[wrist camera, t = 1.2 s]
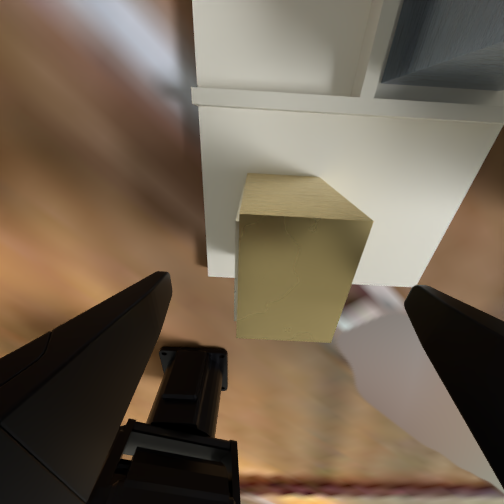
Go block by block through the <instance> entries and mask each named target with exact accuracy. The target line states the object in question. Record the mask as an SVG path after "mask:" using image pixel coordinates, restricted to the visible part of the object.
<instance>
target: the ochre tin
mask: <svg viewBox="0 0 504 504" xmlns="http://www.w3.org/2000/svg"><path fill="white" fill-rule="evenodd" d="M373 222H374V221H373V220H372V219H371V218H369V217H368V216H367V215H366V214H364V213H363V212H362V211H361V210H359V209H358V208H357V207H356V206H355V205H353V204H352V203H351V202H350V201H348V200H347V199H346V198H345V197H343V196H342V195H341V194H340V193H338V192H337V191H336V190H335V189H334V188H332V187H331V186H330V185H329V184H327V183H326V182H325V181H324V180H322V179H321V178H320V177H311V176H293V175H276V174H259V173H247V177H246V182H245V184H244V185H243V190H242V194H241V199H240V203H239V208H238V212H237V217H236V225H235V288H234V321H237V333H236V338H246V339H266V340H286V341H306V342H326V343H331V341H332V338H333V335H334V332H335V330H336V327H337V324H338V321H339V318H340V315H341V313H342V310H343V307H344V304H345V301H346V299H347V296H348V293H349V290H350V287H351V284H352V282H353V279H354V276H355V273H356V270H357V268H358V265H359V262H360V259H361V256H362V253H363V251H364V248H365V245H366V242H367V239H368V237H369V234H370V231H371V228H372V225H373Z"/></svg>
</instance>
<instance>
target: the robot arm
mask: <svg viewBox="0 0 504 504" xmlns="http://www.w3.org/2000/svg"><path fill="white" fill-rule="evenodd" d="M171 297H172V285H171V279H170V274H169V273H168V272H162V271H157V272H155V273H153V274H151V275H149V276H148V277H146V278H144V279H142V280H141V281H139V282H137V283H135V284H133V285H132V286H130V287H128V288H126V289H124V290H123V291H121V292H119V293H117V294H116V295H114V296H112V297H110V298H108V299H107V300H105V301H103V302H101V303H100V304H98V305H96V306H94V307H92V308H91V309H89V310H87V311H85V312H83V313H82V314H80V315H78V316H76V317H75V318H73V319H71V320H69V321H67V322H66V323H64V324H62V325H60V326H58V327H57V328H55V329H53V331H52V332H51V331H50V332H48V333H46V334H44V335H42V336H41V337H39V338H37V339H35V340H33V341H32V342H30V343H28V344H26V345H24V346H22V347H21V348H19V349H17V350H15V351H13V352H11V353H10V354H8V355H6V356H4V357H2V358H0V504H240V487H239V468H238V450H237V441H234V440H230V441H227V440H222V439H217V438H215V432H216V424H217V417H218V409H219V402H220V394H221V391H225V390H227V387H228V353H227V351H226V350H221V349H200V348H180V347H162V348H161V349H160V351H159V355H160V359H161V363H162V367H163V371H164V376H163V379H162V382H161V384H160V387H159V390H158V392H157V395H156V398H155V401H154V403H153V406H152V409H151V411H150V414H149V417H148V419H147V422H146V423H141V422H136V420H134V419H128V422H127V424H126V425H124V426H120V425H121V423H122V420H123V418H124V416H125V413H126V411H127V409H128V407H129V404H130V402H131V400H132V397H133V395H134V393H135V390H136V388H137V386H138V384H139V381H140V379H141V377H142V374H143V372H144V370H145V367H146V365H147V363H148V361H149V358H150V356H151V354H152V351H153V349H154V347H155V345H156V342H157V340H158V337H159V335H160V332H161V329H162V326H163V323H164V320H165V316H166V313H167V310H168V307H169V303H170V300H171ZM404 307H405V310H406V312H407V314H408V316H409V318H410V321H411V323H412V325H413V327H414V329H415V332H416V334H417V336H418V338H419V340H420V342H421V344H422V347H423V348H424V350H425V352H426V354H427V356H428V357H429V359H430V361H431V363H432V364H433V366H434V368H435V370H436V371H437V373H438V375H439V377H440V378H441V380H442V382H443V384H444V385H445V387H446V389H447V390H448V392H449V394H450V396H451V398H452V399H453V401H454V403H455V405H456V406H457V408H458V410H459V412H460V413H461V415H462V417H463V419H464V420H465V422H466V424H467V426H468V427H469V429H470V431H471V433H472V434H473V436H474V438H475V440H476V441H477V443H478V445H479V446H480V448H481V450H482V452H483V454H484V455H485V457H486V459H487V461H488V462H489V464H490V466H491V468H492V469H493V471H494V473H495V475H496V476H497V478H498V480H499V482H500V483H501V485H502V487H503V489H504V321H502V320H500V319H498V318H495V317H493V316H491V315H489V314H487V313H485V312H483V311H481V310H478V309H476V308H474V307H472V306H470V305H468V304H466V303H464V302H461V301H459V300H457V299H455V298H453V297H451V296H449V295H447V294H444V293H442V292H440V291H438V290H436V289H434V288H432V287H430V286H426V285H415V286H413V287H412V288H411V290H410V292H409V294H408V296H407V298H406V300H405V302H404ZM123 454H126V455H132V456H133V457H132V460H125V459H121V458H122V456H123Z"/></svg>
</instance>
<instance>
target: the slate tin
mask: <svg viewBox="0 0 504 504" xmlns="http://www.w3.org/2000/svg"><path fill="white" fill-rule="evenodd" d="M381 84H397V85H413V86H429V87H445V88H461V89H476V90H492V91H502V90H504V0H404V2H403V5H402V9H401V12H400V16H399V20H398V23H397V27H396V30H395V34H394V38H393V41H392V45H391V48H390V52H389V56H388V59H387V63H386V66H385V70H384V74H383V77H382V81H381Z"/></svg>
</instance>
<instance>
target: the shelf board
mask: <svg viewBox="0 0 504 504" xmlns="http://www.w3.org/2000/svg"><path fill="white" fill-rule="evenodd" d="M403 2H404V0H192V7H193V24H194V41H195V58H196V75H197V87H191V97H192V104H194V105H197V106H198V109H199V126H200V143H201V159H202V176H203V193H204V210H205V227H206V244H207V261H208V276H210V277H229V278H235V225H236V217H237V212H238V208H239V203H240V199H241V194H242V190H243V185H244V184H245V182H246V177H247V173H259V174H276V175H293V176H311V177H320V178H321V179H322V180H324V181H325V182H326V183H327V184H329V185H330V186H331V187H332V188H334V189H335V190H336V191H337V192H338V193H340V194H341V195H342V196H343V197H345V198H346V199H347V200H348V201H350V202H351V203H352V204H353V205H355V206H356V207H357V208H358V209H359V210H361V211H362V212H363V213H364V214H366V215H367V216H368V217H369V218H371V219H372V220H373V221H374V222H373V225H372V228H371V231H370V234H369V237H368V239H367V242H366V245H365V248H364V251H363V253H362V256H361V259H360V262H359V265H358V268H357V270H356V273H355V276H354V279H353V282H352V284H362V285H381V286H399V287H413V286H415V285H417V283H418V281H419V279H420V278H421V276H422V274H423V272H424V270H425V268H426V267H427V265H428V263H429V261H430V259H431V257H432V256H433V254H434V252H435V250H436V248H437V246H438V245H439V243H440V241H441V239H442V237H443V235H444V234H445V232H446V230H447V228H448V226H449V224H450V223H451V221H452V219H453V217H454V215H455V213H456V212H457V210H458V208H459V206H460V204H461V202H462V200H463V199H464V197H465V195H466V193H467V191H468V189H469V188H470V186H471V184H472V182H473V180H474V178H475V177H476V175H477V173H478V171H479V169H480V167H481V166H482V164H483V162H484V160H485V158H486V156H487V155H488V153H489V151H490V149H491V147H492V145H493V144H494V142H495V140H496V138H497V136H498V134H499V133H500V131H501V129H502V127H503V125H504V90H502V91H492V90H476V89H461V88H445V87H429V86H413V85H397V84H381V81H382V77H383V74H384V70H385V66H386V63H387V59H388V56H389V52H390V48H391V45H392V41H393V38H394V34H395V30H396V27H397V23H398V20H399V16H400V12H401V9H402V5H403Z"/></svg>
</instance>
